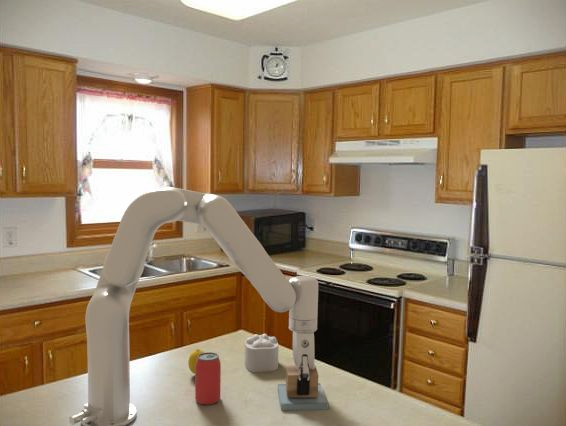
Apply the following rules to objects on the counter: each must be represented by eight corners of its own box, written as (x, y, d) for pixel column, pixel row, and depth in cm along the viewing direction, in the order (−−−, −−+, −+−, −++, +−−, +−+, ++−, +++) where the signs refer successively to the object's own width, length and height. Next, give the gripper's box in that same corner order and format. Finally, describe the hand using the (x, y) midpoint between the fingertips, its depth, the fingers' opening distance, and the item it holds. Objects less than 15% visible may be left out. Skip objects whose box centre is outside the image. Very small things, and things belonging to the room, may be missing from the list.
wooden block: (317, 397, 127) (318, 375, 126) (287, 397, 126) (287, 375, 126) (314, 386, 133) (315, 365, 133) (285, 386, 133) (286, 365, 132)
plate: (281, 410, 123) (281, 404, 123) (277, 389, 135) (277, 383, 135) (327, 409, 124) (327, 403, 124) (320, 388, 136) (320, 383, 136)
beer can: (225, 399, 128) (225, 356, 127) (205, 408, 124) (205, 362, 123) (209, 392, 133) (210, 349, 132) (190, 399, 128) (190, 355, 127)
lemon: (205, 379, 141) (205, 352, 140) (186, 378, 141) (186, 352, 140) (208, 371, 146) (208, 345, 146) (190, 371, 146) (190, 345, 146)
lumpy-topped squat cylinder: (246, 372, 146) (246, 344, 146) (242, 356, 159) (242, 330, 158) (280, 370, 148) (280, 343, 147) (273, 355, 161) (274, 329, 160)
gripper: (322, 333, 120) (320, 403, 121) (312, 313, 137) (310, 374, 138) (292, 334, 119) (290, 404, 121) (286, 313, 136) (284, 375, 138)
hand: (301, 387), depth 129 cm, fingers closed on wooden block, 6 cm apart
